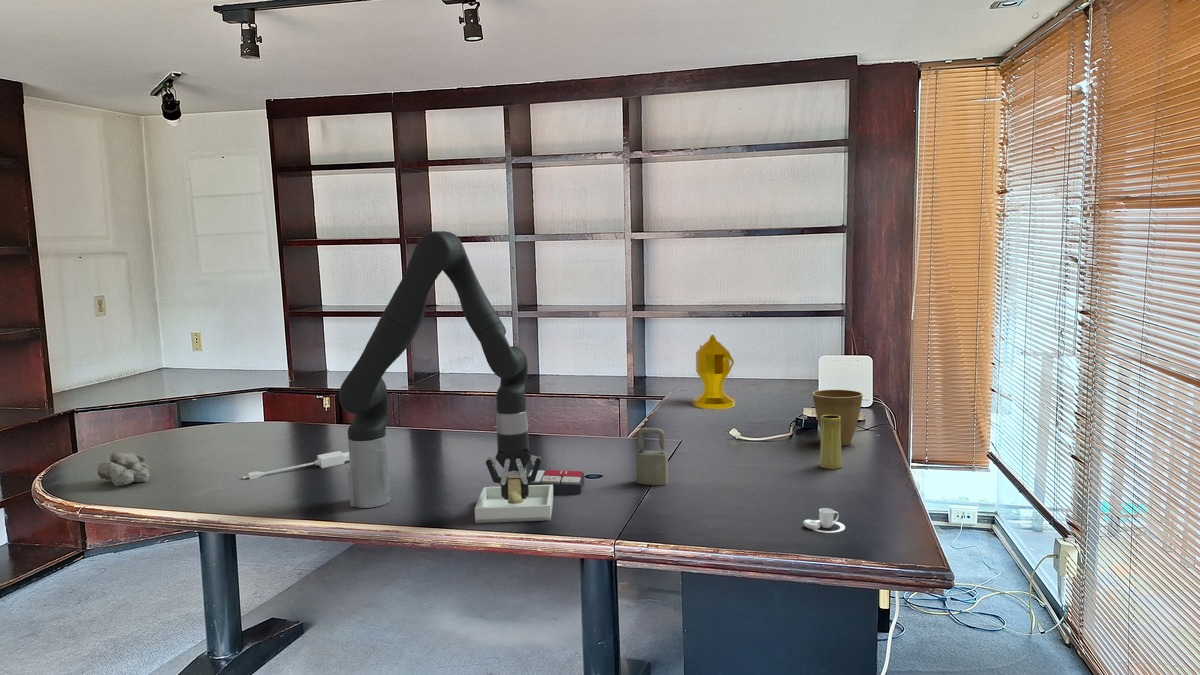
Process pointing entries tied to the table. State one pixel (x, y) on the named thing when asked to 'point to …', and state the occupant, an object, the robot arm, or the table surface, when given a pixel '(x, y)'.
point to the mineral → (124, 469)
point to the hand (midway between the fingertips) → (515, 498)
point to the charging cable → (322, 461)
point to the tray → (514, 506)
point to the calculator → (560, 481)
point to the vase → (830, 442)
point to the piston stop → (514, 489)
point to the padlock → (651, 461)
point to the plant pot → (839, 409)
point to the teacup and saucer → (824, 521)
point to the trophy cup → (713, 375)
